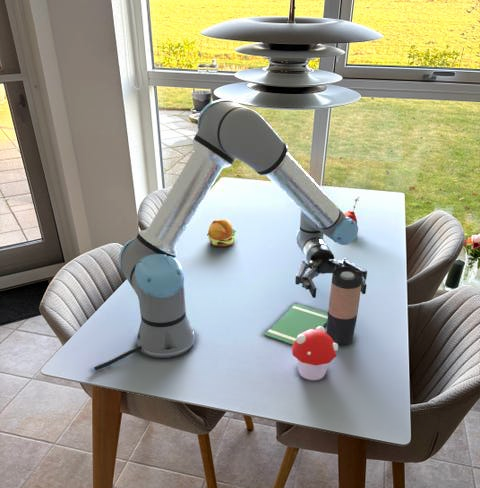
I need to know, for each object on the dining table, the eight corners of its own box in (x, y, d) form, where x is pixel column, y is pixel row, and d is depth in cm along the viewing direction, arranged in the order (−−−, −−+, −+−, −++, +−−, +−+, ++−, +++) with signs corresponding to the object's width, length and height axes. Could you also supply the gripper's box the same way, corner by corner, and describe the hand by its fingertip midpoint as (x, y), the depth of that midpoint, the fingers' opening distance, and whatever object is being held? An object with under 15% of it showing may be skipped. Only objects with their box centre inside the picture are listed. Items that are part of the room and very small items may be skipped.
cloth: (303, 349, 134) (304, 348, 134) (264, 335, 139) (264, 334, 139) (332, 315, 147) (332, 314, 147) (295, 304, 152) (295, 303, 152)
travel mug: (326, 346, 135) (334, 280, 124) (323, 329, 141) (330, 265, 130) (355, 346, 134) (365, 280, 123) (351, 330, 141) (360, 266, 130)
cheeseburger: (239, 237, 192) (238, 215, 185) (231, 255, 186) (229, 233, 178) (214, 234, 195) (211, 212, 187) (205, 251, 188) (202, 229, 181)
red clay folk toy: (336, 231, 197) (340, 193, 189) (354, 230, 198) (358, 193, 189) (340, 239, 191) (344, 200, 183) (358, 238, 191) (363, 200, 183)
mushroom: (331, 359, 130) (336, 320, 123) (336, 387, 121) (342, 347, 114) (290, 358, 130) (292, 319, 124) (292, 386, 121) (294, 346, 115)
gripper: (357, 264, 155) (383, 300, 137) (277, 269, 152) (292, 307, 135) (360, 241, 151) (387, 275, 133) (278, 247, 148) (294, 282, 130)
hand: (339, 291), depth 134 cm, fingers open, 13 cm apart
